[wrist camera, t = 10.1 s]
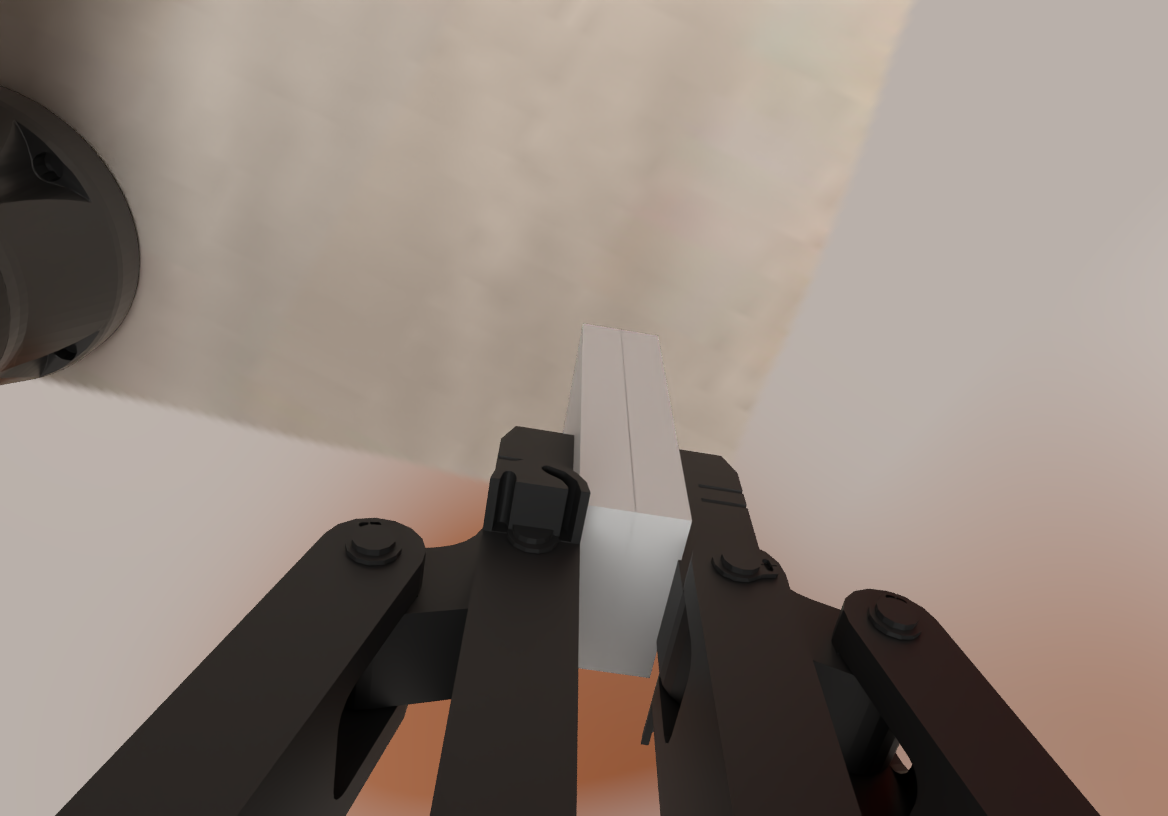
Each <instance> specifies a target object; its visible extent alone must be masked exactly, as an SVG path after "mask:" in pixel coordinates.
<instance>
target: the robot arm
mask: <svg viewBox="0 0 1168 816" xmlns="http://www.w3.org/2000/svg"><path fill="white" fill-rule="evenodd" d="M138 275H139V249H138V241H137V235H136V231H135V227H134V223H133V220H132V216H131V213H130V211H129V208H128V206H127V203H126V201H125V199H124V196H123V194H122V192H121V190H120V188H119V187H118V185H117V183H116V181H115V180H114V178H113V176H112V175H111V173H110V172H109V170H108V169H107V167H106V166H105V164H104V163H103V162H102V160H101V159H100V158H99V157H98V155H97V154H96V153H95V152H94V150H93V149H92V148H91V147H90V146H89V145H88V144H87V143H86V142H85V141H84V140H83V139H82V138H81V137H80V136H79V135H78V134H77V133H76V132H75V131H74V130H73V129H72V128H71V127H69V126H68V125H67V124H66V123H65V122H64V121H62V120H61V119H60V118H58V117H57V116H56V115H54V114H53V113H51V112H50V111H48V110H47V109H46V108H44V107H42V106H41V105H39V104H37V103H36V102H34V101H32V100H30V99H29V98H27V97H25V96H23V95H21V94H18V93H16V92H14V91H12V90H9V89H7V88H4V87H1V86H0V385H4V384H9V383H14V382H20V381H26V380H31V379H36V378H40V377H44V376H47V375H50V374H53V373H55V372H58V371H60V370H63V369H65V368H67V367H69V366H71V365H73V364H74V363H76V362H77V361H79V360H81V359H82V358H83V357H85V356H86V355H87V354H89V353H90V352H91V351H92V350H94V349H95V348H96V347H98V346H99V345H100V344H102V343H103V342H104V341H105V340H106V339H107V338H109V337H110V336H111V335H112V334H113V332H114V331H115V330H116V329H117V328H118V327H119V325H120V324H121V322H122V321H123V319H124V318H125V316H126V314H127V313H128V310H129V308H130V306H131V304H132V301H133V298H134V295H135V291H136V287H137V282H138ZM656 652H658V662H659V676H658V680H657V683H656V687H655V691H654V695H653V698H652V701H651V705H650V709H649V712H648V716H647V720H646V723H645V727H644V731H643V735H642V740H641V744H644V745H649V741H650V738H651V734H652V732H654V739H655V752H656V764H657V777H658V790H659V802H660V815H661V816H1100V815H1099V813H1098V812H1097V811H1096V810H1095V809H1094V807H1093V806H1092V805H1091V804H1090V803H1089V801H1088V800H1087V799H1086V798H1085V797H1084V796H1083V794H1082V793H1081V792H1080V791H1079V790H1078V788H1077V787H1076V786H1075V785H1074V783H1073V782H1072V781H1071V780H1070V779H1069V778H1068V776H1067V775H1066V774H1065V773H1064V772H1063V770H1062V769H1061V768H1060V767H1059V766H1058V764H1057V763H1056V762H1055V761H1054V760H1053V758H1052V757H1051V756H1050V755H1049V754H1048V753H1047V751H1046V750H1045V749H1044V748H1043V747H1042V745H1041V744H1040V743H1039V742H1038V741H1037V739H1036V738H1035V737H1034V736H1033V735H1032V733H1031V732H1030V731H1029V730H1028V729H1027V727H1026V726H1025V725H1024V724H1023V723H1022V722H1021V720H1020V719H1019V718H1018V717H1017V716H1016V714H1015V713H1014V712H1013V711H1012V710H1011V708H1010V707H1009V706H1008V705H1007V704H1006V702H1005V701H1004V700H1003V699H1002V698H1001V696H1000V695H999V694H998V693H997V692H996V690H995V689H994V688H993V687H992V686H991V684H990V683H989V682H988V681H987V680H986V678H985V677H984V676H983V675H982V674H981V673H980V671H979V670H978V669H977V668H976V667H975V665H974V664H973V663H972V662H971V661H970V659H969V658H968V657H967V656H966V655H965V654H964V652H963V651H962V650H961V649H960V648H959V646H958V645H957V644H956V643H955V642H954V640H953V639H952V638H951V637H950V636H949V634H948V633H947V632H946V631H945V630H944V628H943V627H942V626H941V625H940V624H939V622H938V621H937V620H936V619H935V618H934V617H933V616H931V615H930V614H929V613H928V612H927V611H926V610H925V609H924V608H923V607H920V606H919V605H917V604H916V603H914V602H912V601H911V600H909V599H908V598H906V597H903V596H901V595H898V594H895V593H892V592H888V591H883V590H874V589H865V590H859V591H854V592H853V593H851V594H850V595H849V596H848V597H846V598H845V601H844V603H843V606H842V609H841V610H840V609H837V608H834V607H831V606H828V605H825V604H823V603H820V602H817V601H814V600H811V599H809V598H807V597H804V596H802V595H800V594H797V593H796V592H794V591H792V590H791V589H790V587H789V583H788V580H787V577H786V574H785V572H784V571H783V569H782V568H781V566H780V564H779V563H778V562H777V561H776V560H775V559H773V558H772V557H771V556H770V555H769V554H767V553H766V552H764V551H762V550H760V549H759V547H758V543H757V540H756V536H755V533H754V529H753V526H752V522H751V519H750V515H749V512H748V509H747V508H746V502H745V498H744V495H743V494H742V488H741V484H740V481H739V477H738V474H737V472H736V471H735V470H734V469H733V468H732V467H731V466H730V465H729V464H728V463H727V462H726V461H725V460H724V459H723V458H722V456H717V455H711V454H705V453H698V452H692V451H686V450H679V447H678V441H677V436H676V430H675V425H674V419H673V414H672V408H671V403H670V397H669V392H668V386H667V381H666V375H665V370H664V364H663V359H662V353H661V348H660V342H659V337H658V335H652V334H646V333H640V332H634V331H628V330H622V329H616V328H610V327H604V326H598V325H592V324H586V323H583V326H582V331H581V337H580V342H579V347H578V353H577V358H576V363H575V369H574V374H573V380H572V385H571V390H570V396H569V401H568V407H567V412H566V417H565V423H564V428H563V433H557V432H551V431H544V430H538V429H532V428H525V427H519V426H516V427H514V428H513V429H512V430H511V431H510V432H509V433H507V434H506V435H505V436H504V437H503V438H501V442H500V447H499V453H498V459H497V463H496V469H495V471H494V473H493V474H492V476H491V478H490V484H489V491H488V498H487V505H486V512H485V518H484V525H483V528H482V529H481V530H480V531H479V532H478V534H477V535H476V536H474V537H472V538H470V539H468V540H467V541H465V542H462V543H458V544H455V545H451V546H444V547H436V548H425V546H424V543H423V539H422V538H421V537H420V536H419V535H418V534H417V533H416V532H415V531H414V530H413V529H411V528H409V527H407V526H405V525H402V524H400V523H398V522H396V521H390V520H385V519H379V518H365V519H354V520H351V521H347V522H344V523H341V524H338V525H336V526H335V527H333V528H332V529H330V530H329V531H327V532H326V533H325V534H324V535H323V536H322V537H321V538H320V539H319V540H318V541H317V542H316V543H315V544H314V545H313V546H312V547H311V549H309V550H308V551H307V553H306V554H305V555H304V556H303V557H302V558H301V559H300V560H299V561H298V562H297V563H296V564H295V565H294V566H293V567H292V568H291V569H290V570H289V571H288V573H286V575H285V576H284V577H283V578H282V579H281V580H280V581H279V582H278V583H277V584H276V585H275V586H274V587H273V588H272V589H271V590H270V591H269V592H268V593H267V594H266V595H265V597H264V598H263V599H262V600H261V601H260V602H259V603H258V604H257V605H256V606H255V607H254V608H253V609H252V610H251V611H250V612H249V613H248V614H247V615H246V616H245V617H244V618H243V620H242V621H241V622H240V623H239V624H238V625H237V626H236V627H235V628H234V629H233V630H232V631H231V632H230V633H229V634H228V635H227V636H226V637H225V638H224V640H222V642H221V643H220V644H219V645H218V646H217V647H216V648H215V649H214V650H213V651H212V652H211V653H210V654H209V655H208V656H207V657H206V658H205V659H204V660H203V661H202V662H201V663H200V665H199V666H198V667H197V668H196V669H195V670H194V671H193V672H192V673H191V674H190V675H189V676H188V677H187V678H186V679H185V680H184V681H183V682H182V684H180V686H179V687H178V688H177V689H176V690H175V691H174V692H173V693H172V694H171V695H170V696H169V697H168V698H167V699H166V700H165V701H164V702H163V703H162V704H161V705H160V706H159V707H158V708H157V710H156V711H155V712H154V713H153V714H152V715H151V716H150V717H149V718H148V719H147V720H146V721H145V722H144V723H143V724H142V725H141V726H140V727H139V728H138V729H137V730H136V732H135V733H134V734H133V735H132V736H131V737H130V738H129V739H128V740H127V741H126V742H125V743H124V744H123V745H122V746H121V747H120V748H119V749H118V750H117V751H116V752H115V754H114V755H113V756H112V757H111V758H110V759H109V760H108V761H107V762H106V763H105V764H104V765H103V766H102V767H101V768H100V769H99V770H98V771H97V772H96V773H95V774H94V775H93V777H92V778H91V779H90V780H89V781H88V782H87V783H86V784H85V785H84V786H83V787H82V788H81V789H80V790H79V791H78V792H77V794H75V795H74V796H73V798H72V799H71V800H70V801H69V802H68V803H67V804H66V805H65V806H64V807H63V808H62V809H61V810H60V811H59V812H58V813H57V814H56V815H55V816H346V814H347V813H348V811H349V809H350V807H351V806H352V804H353V803H354V801H355V799H356V797H357V796H358V794H359V792H360V791H361V789H362V787H363V786H364V784H365V782H366V781H367V779H368V777H369V776H370V774H371V772H372V770H373V769H374V767H375V766H376V764H377V762H378V760H379V759H380V757H381V755H382V754H383V752H384V750H385V749H386V747H387V745H388V744H389V742H390V740H391V739H392V737H393V735H394V734H395V732H396V730H397V729H398V727H399V725H400V724H401V722H402V720H403V718H404V716H405V712H406V709H407V706H408V704H416V703H424V702H431V701H440V700H448V699H451V704H450V710H449V715H448V720H447V726H446V731H445V737H444V742H443V747H442V753H441V759H440V763H439V769H438V774H437V780H436V785H435V791H434V796H433V801H432V807H431V812H430V816H576V803H577V730H578V729H577V728H578V726H577V725H578V668H582V669H589V670H596V671H603V672H611V673H618V674H625V675H632V676H639V677H646V678H650V675H651V671H652V667H653V663H654V660H655V656H656ZM899 744H900V745H901V746H902V748H903V749H904V751H905V752H906V754H907V755H908V757H909V758H910V761H911V763H912V766H911V768H910V769H909V770H908V769H907V768H906V767H905V766H904V765H903V763H902V762H901V760H900V759H899V757H898V756H897V754H896V750H897V748H898V746H899Z"/></svg>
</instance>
